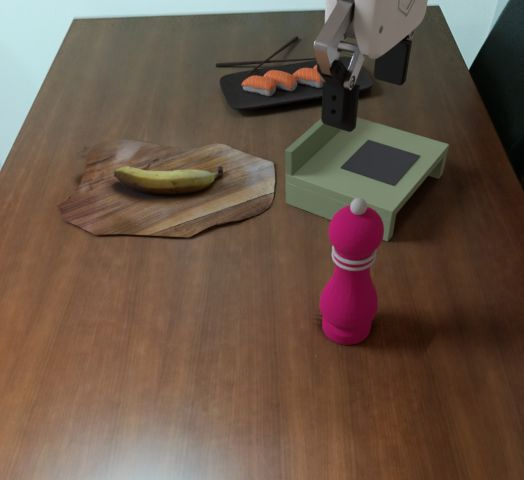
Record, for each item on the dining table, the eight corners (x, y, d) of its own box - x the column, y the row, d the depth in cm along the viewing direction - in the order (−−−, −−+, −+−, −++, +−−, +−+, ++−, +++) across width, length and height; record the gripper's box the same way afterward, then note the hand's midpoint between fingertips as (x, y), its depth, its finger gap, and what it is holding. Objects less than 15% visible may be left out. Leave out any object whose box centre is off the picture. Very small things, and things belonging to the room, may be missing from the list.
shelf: (442, 174, 96) (454, 120, 89) (387, 242, 86) (396, 187, 79) (346, 143, 103) (350, 91, 96) (285, 203, 93) (284, 149, 86)
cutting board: (42, 235, 90) (34, 215, 87) (92, 139, 107) (86, 120, 104) (267, 243, 87) (266, 222, 84) (281, 143, 104) (281, 123, 101)
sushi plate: (231, 120, 110) (229, 100, 107) (204, 52, 128) (201, 34, 125) (377, 96, 113) (379, 76, 110) (329, 33, 132) (330, 15, 129)
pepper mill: (358, 356, 73) (375, 230, 57) (308, 334, 75) (311, 207, 60) (383, 320, 76) (406, 191, 61) (335, 299, 79) (344, 171, 64)
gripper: (380, -94, 35) (354, 159, 48) (487, -154, 44) (441, 74, 57) (276, -109, 38) (279, 134, 51) (397, -162, 47) (372, 57, 60)
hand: (364, 102), depth 54 cm, fingers open, 9 cm apart
